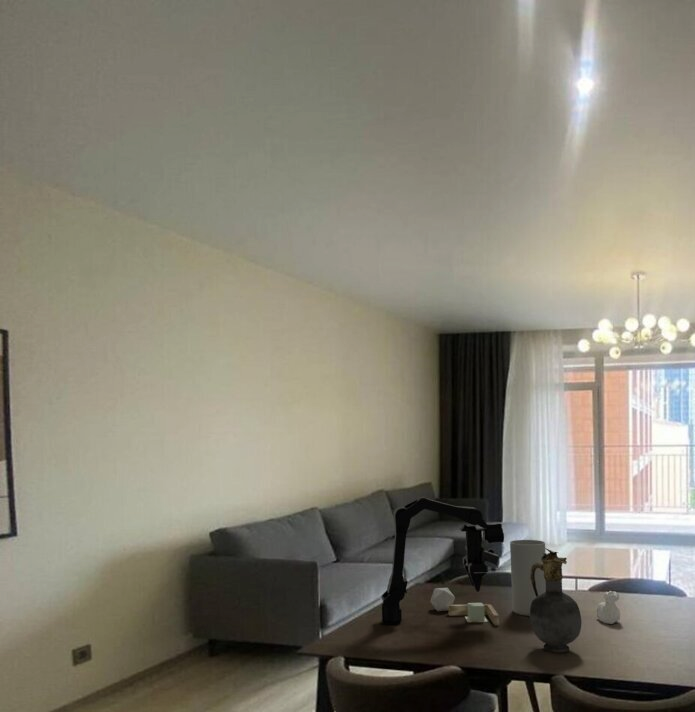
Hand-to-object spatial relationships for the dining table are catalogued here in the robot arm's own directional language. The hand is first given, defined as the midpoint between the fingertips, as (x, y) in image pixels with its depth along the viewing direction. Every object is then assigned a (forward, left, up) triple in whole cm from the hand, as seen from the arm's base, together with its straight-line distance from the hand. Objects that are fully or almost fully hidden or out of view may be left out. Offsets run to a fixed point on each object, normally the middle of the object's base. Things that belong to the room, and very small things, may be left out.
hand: (475, 588), depth 275 cm
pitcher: (+18, -36, -11) cm, 41 cm away
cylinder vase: (+21, +9, -11) cm, 25 cm away
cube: (0, 0, -10) cm, 10 cm away
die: (-10, +15, -11) cm, 22 cm away
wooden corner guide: (-1, 0, -11) cm, 11 cm away
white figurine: (+45, -6, -11) cm, 47 cm away
